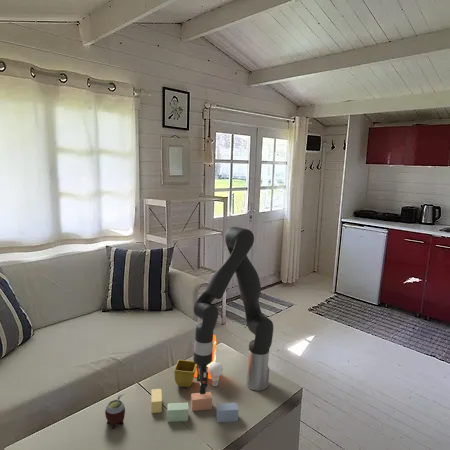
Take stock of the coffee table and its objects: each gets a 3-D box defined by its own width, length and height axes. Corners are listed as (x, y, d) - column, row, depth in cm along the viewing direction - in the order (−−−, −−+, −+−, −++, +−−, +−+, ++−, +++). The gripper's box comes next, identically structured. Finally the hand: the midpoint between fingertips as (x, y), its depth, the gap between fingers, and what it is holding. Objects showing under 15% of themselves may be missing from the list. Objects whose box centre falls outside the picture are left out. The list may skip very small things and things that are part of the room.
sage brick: (187, 413, 140) (188, 402, 139) (188, 420, 136) (188, 409, 135) (167, 414, 139) (167, 403, 138) (167, 422, 135) (167, 410, 134)
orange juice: (197, 367, 172) (198, 329, 169) (215, 369, 171) (217, 331, 168) (193, 376, 164) (195, 336, 161) (212, 379, 163) (214, 339, 160)
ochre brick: (151, 400, 147) (151, 389, 146) (161, 399, 148) (161, 388, 147) (151, 413, 139) (151, 402, 138) (161, 412, 140) (161, 401, 139)
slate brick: (235, 414, 141) (236, 402, 140) (237, 421, 137) (238, 409, 137) (216, 415, 140) (216, 404, 139) (217, 422, 136) (217, 410, 135)
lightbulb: (211, 391, 154) (212, 368, 153) (205, 383, 160) (206, 360, 158) (224, 387, 157) (225, 365, 156) (217, 380, 163) (219, 358, 161)
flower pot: (196, 379, 163) (197, 361, 161) (192, 391, 154) (193, 372, 153) (177, 377, 163) (178, 359, 162) (173, 388, 155) (173, 370, 153)
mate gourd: (109, 416, 136) (109, 380, 134) (129, 417, 136) (129, 382, 134) (102, 430, 129) (101, 393, 127) (123, 431, 129) (123, 394, 126)
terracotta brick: (210, 402, 147) (210, 391, 146) (211, 409, 143) (212, 398, 143) (190, 404, 146) (191, 393, 145) (192, 411, 142) (192, 399, 141)
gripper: (215, 358, 134) (213, 397, 137) (209, 340, 148) (207, 376, 151) (196, 359, 133) (193, 399, 135) (191, 341, 146) (189, 377, 149)
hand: (201, 387), depth 143 cm, fingers open, 8 cm apart
